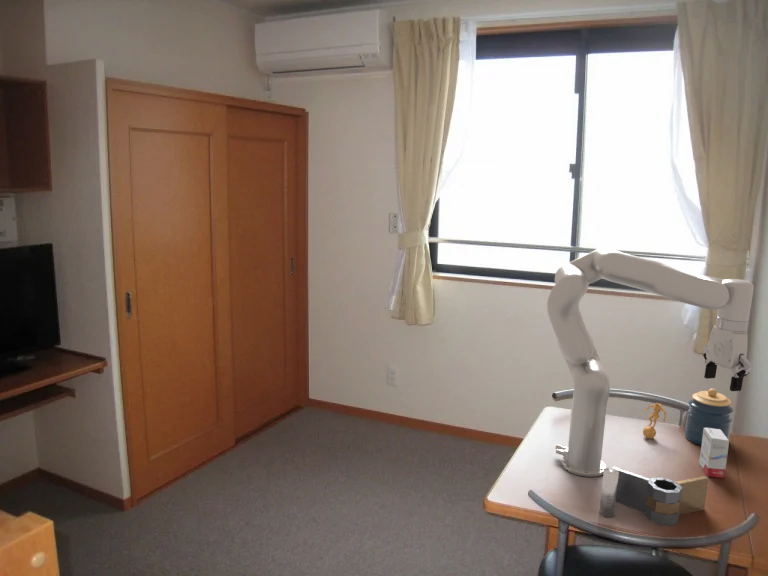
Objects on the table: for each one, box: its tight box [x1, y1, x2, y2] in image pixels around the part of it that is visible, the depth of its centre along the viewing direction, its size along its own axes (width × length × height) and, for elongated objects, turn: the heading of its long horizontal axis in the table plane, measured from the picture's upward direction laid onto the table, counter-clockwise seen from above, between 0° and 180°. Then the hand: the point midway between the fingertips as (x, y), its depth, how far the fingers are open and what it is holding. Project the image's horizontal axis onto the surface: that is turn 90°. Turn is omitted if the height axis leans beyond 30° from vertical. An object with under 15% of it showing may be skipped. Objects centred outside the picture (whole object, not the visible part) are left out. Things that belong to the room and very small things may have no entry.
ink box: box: [698, 428, 730, 479], centre depth 186 cm, size 9×5×12 cm, turn 168°
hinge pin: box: [599, 467, 619, 518], centre depth 162 cm, size 4×4×12 cm
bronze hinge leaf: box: [647, 475, 709, 516], centre depth 163 cm, size 17×7×9 cm, turn 109°
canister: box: [684, 387, 734, 446], centre depth 206 cm, size 13×13×18 cm
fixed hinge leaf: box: [611, 466, 682, 527], centre depth 164 cm, size 17×7×9 cm, turn 50°
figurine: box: [642, 402, 667, 440], centre depth 207 cm, size 8×6×12 cm
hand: (722, 384), depth 176 cm, fingers open, 9 cm apart
